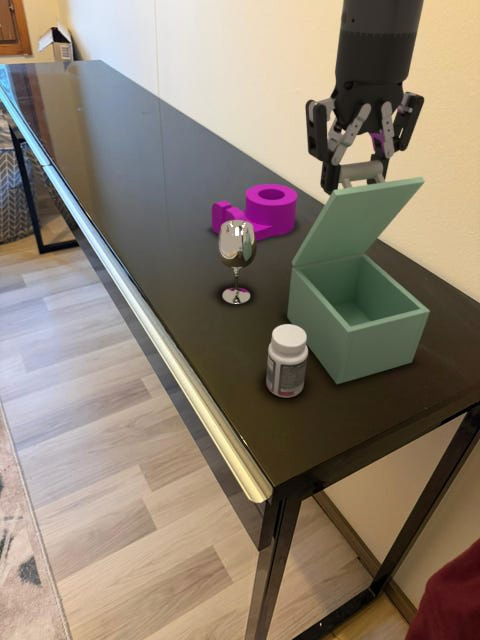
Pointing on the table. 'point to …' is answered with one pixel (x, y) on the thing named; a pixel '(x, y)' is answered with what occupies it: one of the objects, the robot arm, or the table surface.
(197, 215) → the table surface
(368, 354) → the bin
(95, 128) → the table surface
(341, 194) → the bin lid
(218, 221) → the tape dispenser
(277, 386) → the pill bottle
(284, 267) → the table surface
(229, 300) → the wineglass
